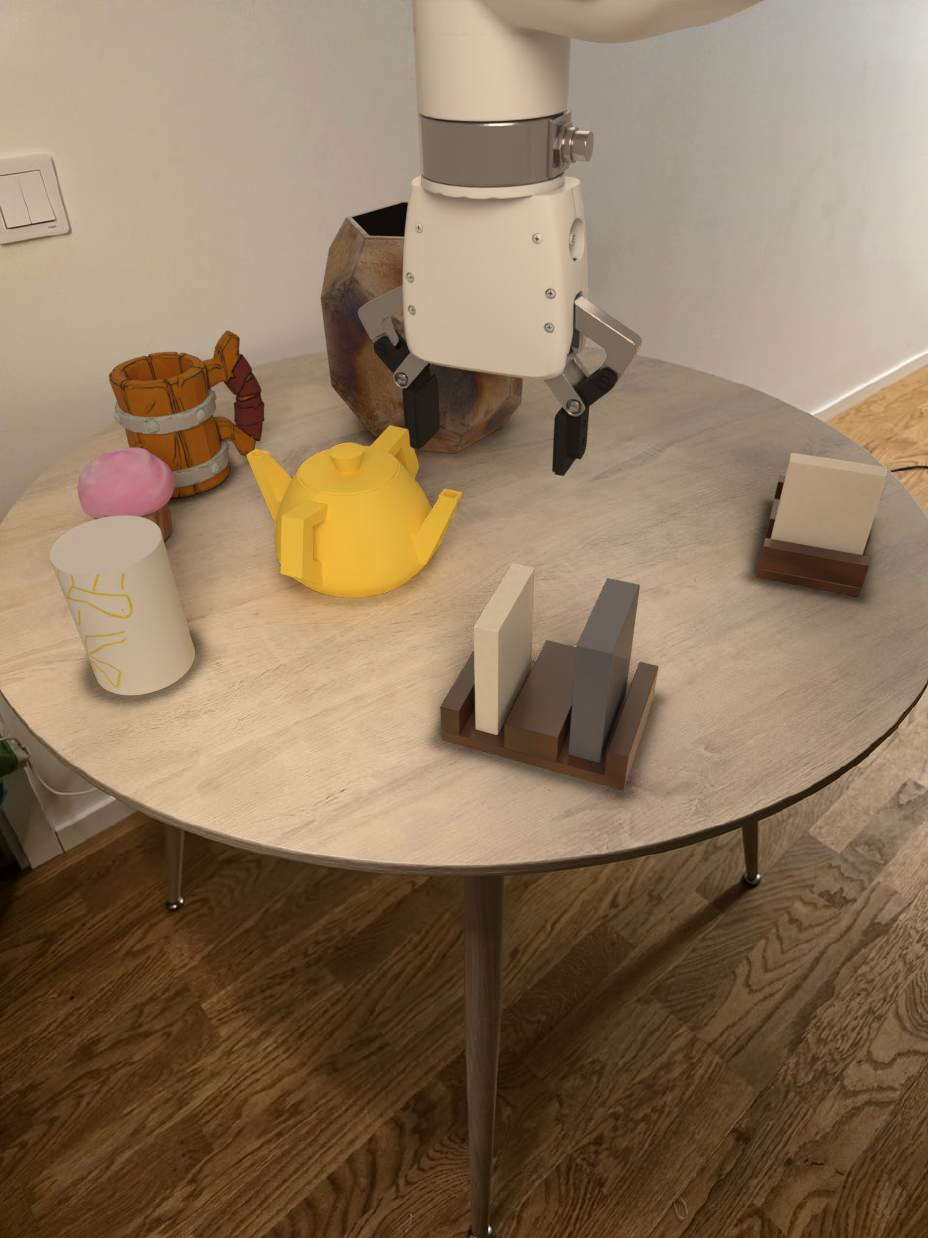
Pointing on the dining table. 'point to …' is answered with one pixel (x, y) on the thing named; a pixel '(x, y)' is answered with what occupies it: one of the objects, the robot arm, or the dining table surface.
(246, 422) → the mug
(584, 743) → the grey book
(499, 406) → the planter
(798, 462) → the white book
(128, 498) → the cupcake
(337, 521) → the teapot
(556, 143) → the robot arm
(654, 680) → the rack
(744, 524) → the dining table surface
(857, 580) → the rack
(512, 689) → the white book
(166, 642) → the cup
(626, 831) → the dining table surface
